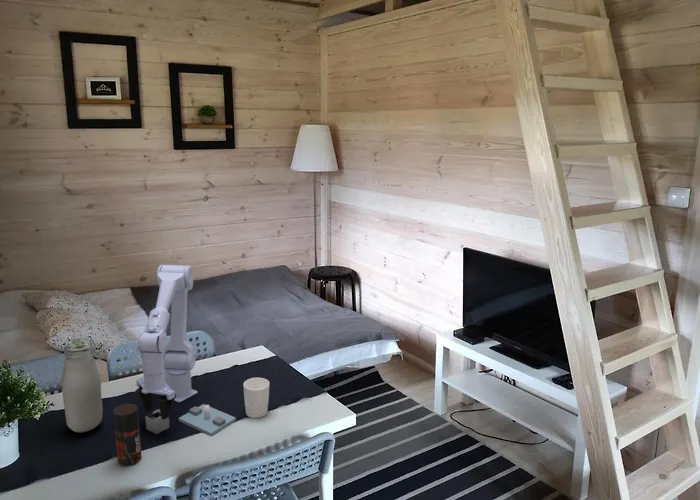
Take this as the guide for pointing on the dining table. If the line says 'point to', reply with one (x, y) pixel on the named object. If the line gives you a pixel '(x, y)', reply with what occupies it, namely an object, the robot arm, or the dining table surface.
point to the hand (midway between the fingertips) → (156, 413)
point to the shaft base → (207, 419)
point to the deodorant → (127, 434)
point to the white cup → (256, 397)
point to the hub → (156, 422)
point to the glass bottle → (81, 387)
